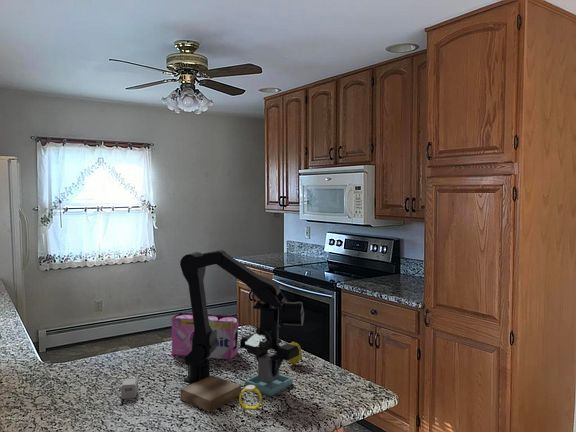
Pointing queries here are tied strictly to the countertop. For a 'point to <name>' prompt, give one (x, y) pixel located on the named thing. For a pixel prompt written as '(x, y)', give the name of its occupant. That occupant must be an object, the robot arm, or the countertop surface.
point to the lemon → (297, 358)
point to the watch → (249, 389)
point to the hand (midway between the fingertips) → (268, 374)
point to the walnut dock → (210, 393)
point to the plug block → (266, 369)
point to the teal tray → (270, 384)
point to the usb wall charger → (129, 388)
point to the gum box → (221, 323)
